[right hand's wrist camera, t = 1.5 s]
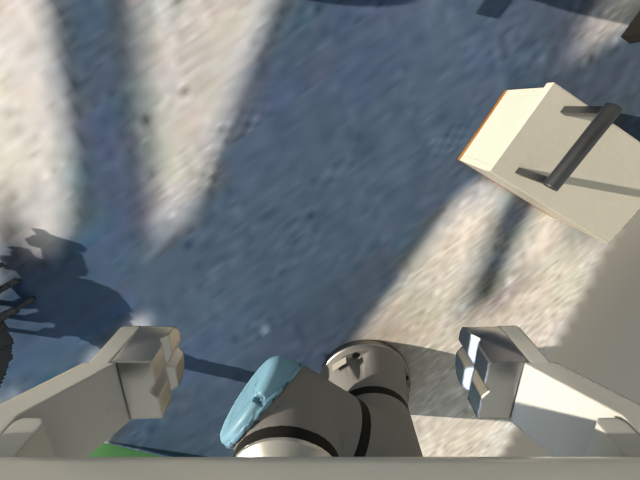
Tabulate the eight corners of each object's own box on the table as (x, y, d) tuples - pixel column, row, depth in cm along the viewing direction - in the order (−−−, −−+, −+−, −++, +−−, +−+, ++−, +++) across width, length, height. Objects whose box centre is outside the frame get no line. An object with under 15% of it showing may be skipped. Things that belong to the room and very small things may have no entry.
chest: (457, 159, 49) (490, 172, 40) (505, 89, 46) (552, 86, 37) (549, 215, 52) (600, 240, 43) (600, 153, 49) (667, 165, 40)
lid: (484, 169, 40) (522, 184, 32) (546, 82, 37) (605, 76, 29) (601, 240, 43) (660, 269, 35) (667, 166, 40) (748, 180, 32)
